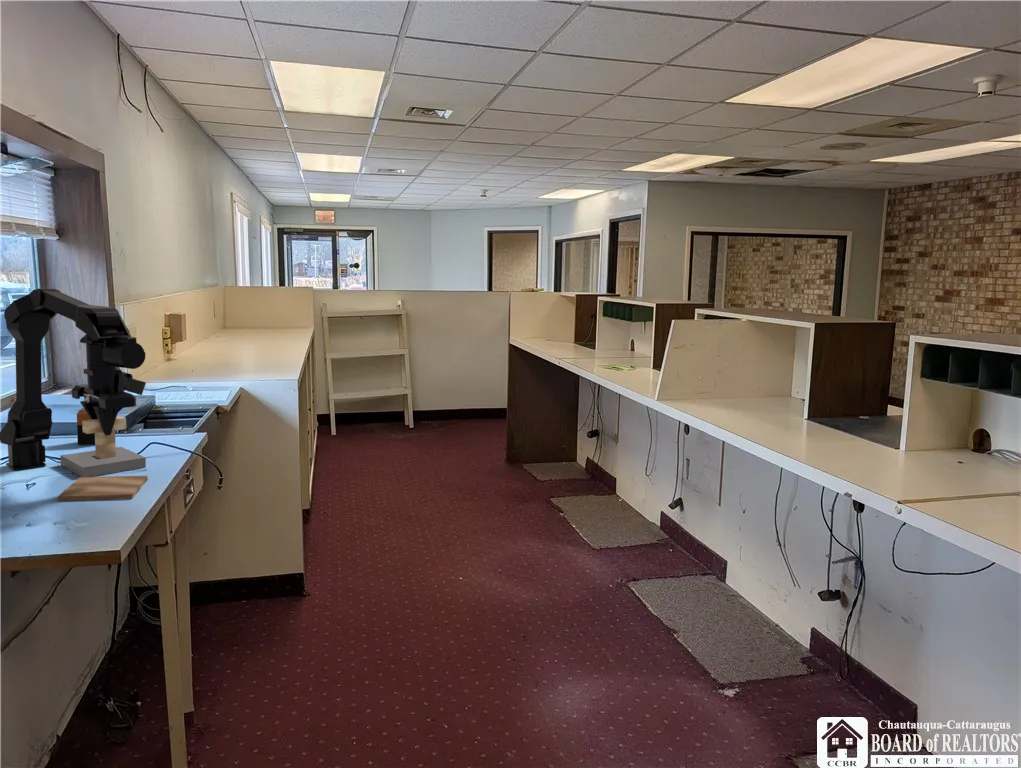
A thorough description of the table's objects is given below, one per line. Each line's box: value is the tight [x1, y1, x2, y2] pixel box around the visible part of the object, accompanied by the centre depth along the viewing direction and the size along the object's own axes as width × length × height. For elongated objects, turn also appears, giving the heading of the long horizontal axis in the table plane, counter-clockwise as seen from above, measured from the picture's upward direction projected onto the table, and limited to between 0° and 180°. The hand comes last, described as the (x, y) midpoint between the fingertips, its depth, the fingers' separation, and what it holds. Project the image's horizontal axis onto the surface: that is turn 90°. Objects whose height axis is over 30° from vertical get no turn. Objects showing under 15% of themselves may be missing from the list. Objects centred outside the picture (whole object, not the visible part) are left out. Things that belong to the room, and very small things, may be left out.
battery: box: [76, 407, 95, 446], centre depth 186 cm, size 4×7×10 cm, turn 115°
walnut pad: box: [57, 475, 149, 502], centre depth 149 cm, size 14×14×1 cm
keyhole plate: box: [59, 446, 147, 477], centre depth 166 cm, size 14×14×2 cm
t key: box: [82, 416, 127, 459], centre depth 150 cm, size 8×3×8 cm, turn 143°
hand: (104, 433), depth 150 cm, fingers closed on t key, 3 cm apart
